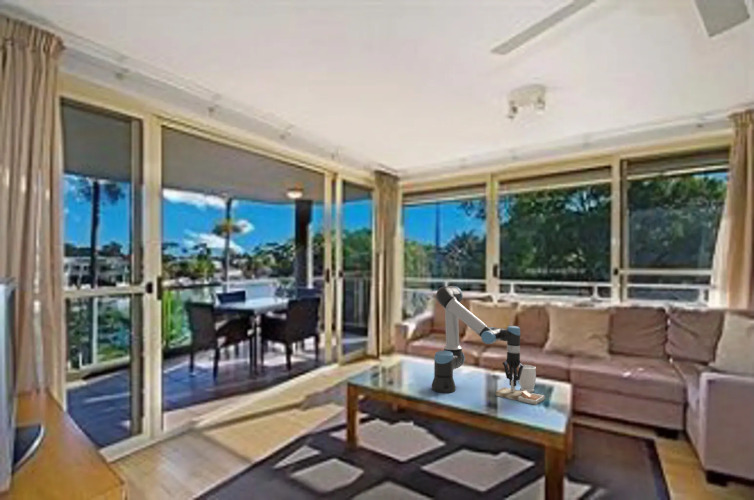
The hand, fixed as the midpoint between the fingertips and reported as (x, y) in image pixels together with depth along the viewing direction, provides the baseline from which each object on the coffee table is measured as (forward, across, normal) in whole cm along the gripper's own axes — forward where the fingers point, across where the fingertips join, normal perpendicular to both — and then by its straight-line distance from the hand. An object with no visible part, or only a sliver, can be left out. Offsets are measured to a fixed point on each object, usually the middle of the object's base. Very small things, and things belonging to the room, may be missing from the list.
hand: (512, 391), depth 267 cm
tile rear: (+1, +8, 0) cm, 8 cm away
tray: (+3, +12, 0) cm, 12 cm away
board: (+3, -1, 0) cm, 3 cm away
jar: (+3, +2, +18) cm, 18 cm away
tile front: (+1, +13, 0) cm, 13 cm away
